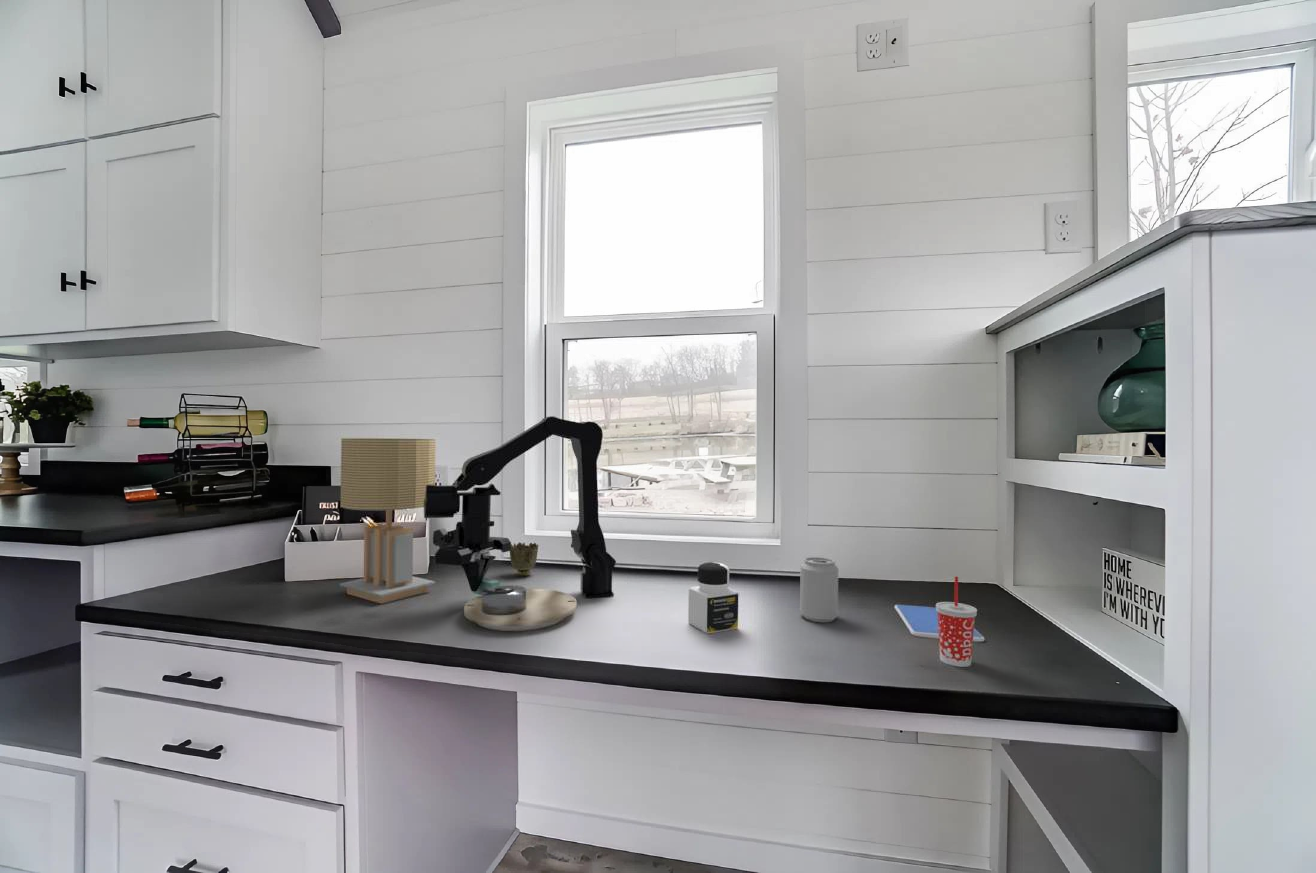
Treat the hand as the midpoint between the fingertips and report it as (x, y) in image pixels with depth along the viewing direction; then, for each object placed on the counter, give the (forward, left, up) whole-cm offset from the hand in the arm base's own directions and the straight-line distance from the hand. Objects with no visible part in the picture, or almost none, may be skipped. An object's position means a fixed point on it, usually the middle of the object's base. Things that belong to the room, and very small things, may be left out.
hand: (474, 591), depth 120 cm
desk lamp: (+19, -17, -4) cm, 26 cm away
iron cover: (-6, +11, -1) cm, 12 cm away
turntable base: (-9, +8, -4) cm, 13 cm away
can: (-67, +25, -4) cm, 72 cm away
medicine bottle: (-44, +24, -4) cm, 50 cm away
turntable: (-9, +8, -2) cm, 12 cm away
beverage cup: (-76, +51, -4) cm, 92 cm away
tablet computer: (-88, +34, -4) cm, 95 cm away
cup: (-12, -26, -4) cm, 29 cm away
